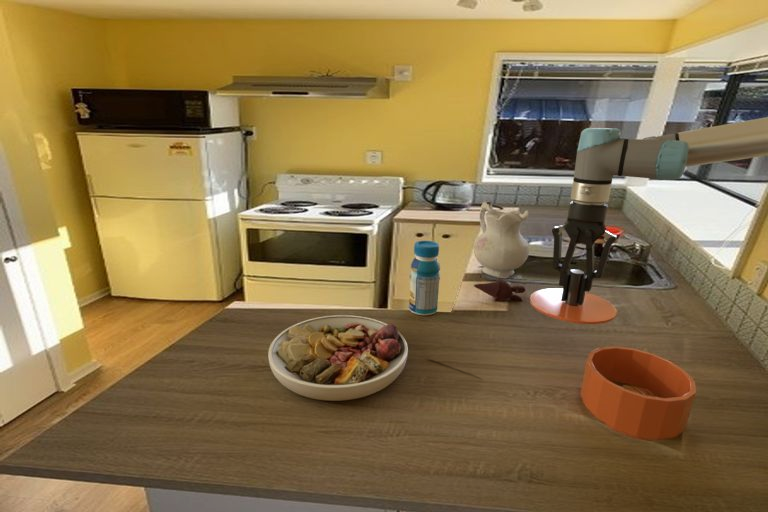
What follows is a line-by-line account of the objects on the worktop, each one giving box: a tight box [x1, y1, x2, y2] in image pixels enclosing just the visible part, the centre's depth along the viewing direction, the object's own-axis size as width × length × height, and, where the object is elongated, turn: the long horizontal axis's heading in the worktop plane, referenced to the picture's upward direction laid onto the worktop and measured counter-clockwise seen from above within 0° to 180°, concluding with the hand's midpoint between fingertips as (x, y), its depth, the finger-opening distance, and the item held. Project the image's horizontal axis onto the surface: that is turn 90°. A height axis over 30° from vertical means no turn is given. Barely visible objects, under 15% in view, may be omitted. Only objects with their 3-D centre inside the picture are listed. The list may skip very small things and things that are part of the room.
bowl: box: [267, 314, 409, 402], centre depth 93 cm, size 30×30×8 cm
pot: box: [579, 345, 697, 442], centre depth 81 cm, size 18×18×8 cm
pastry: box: [619, 384, 658, 397], centre depth 82 cm, size 9×7×4 cm
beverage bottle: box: [408, 240, 441, 316], centre depth 119 cm, size 8×8×20 cm
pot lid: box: [529, 268, 618, 325], centre depth 99 cm, size 19×19×9 cm
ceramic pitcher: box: [473, 199, 531, 279], centre depth 151 cm, size 22×20×25 cm
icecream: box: [473, 278, 526, 302], centre depth 129 cm, size 7×7×15 cm
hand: (572, 300), depth 99 cm, fingers closed on pot lid, 3 cm apart
